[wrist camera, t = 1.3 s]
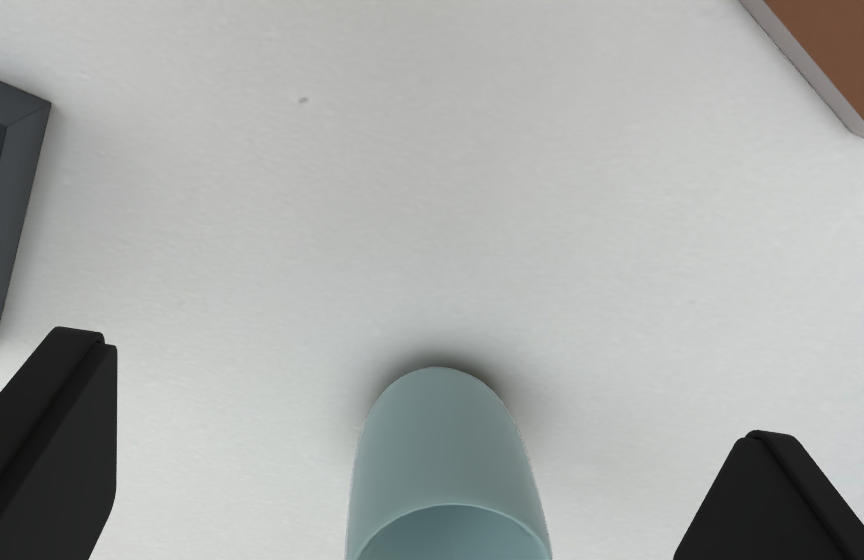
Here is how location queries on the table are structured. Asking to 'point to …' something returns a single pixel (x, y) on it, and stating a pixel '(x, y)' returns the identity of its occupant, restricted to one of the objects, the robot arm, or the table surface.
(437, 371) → the cup
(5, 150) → the plate
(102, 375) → the robot arm
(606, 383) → the table surface
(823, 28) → the brown mounting plate
